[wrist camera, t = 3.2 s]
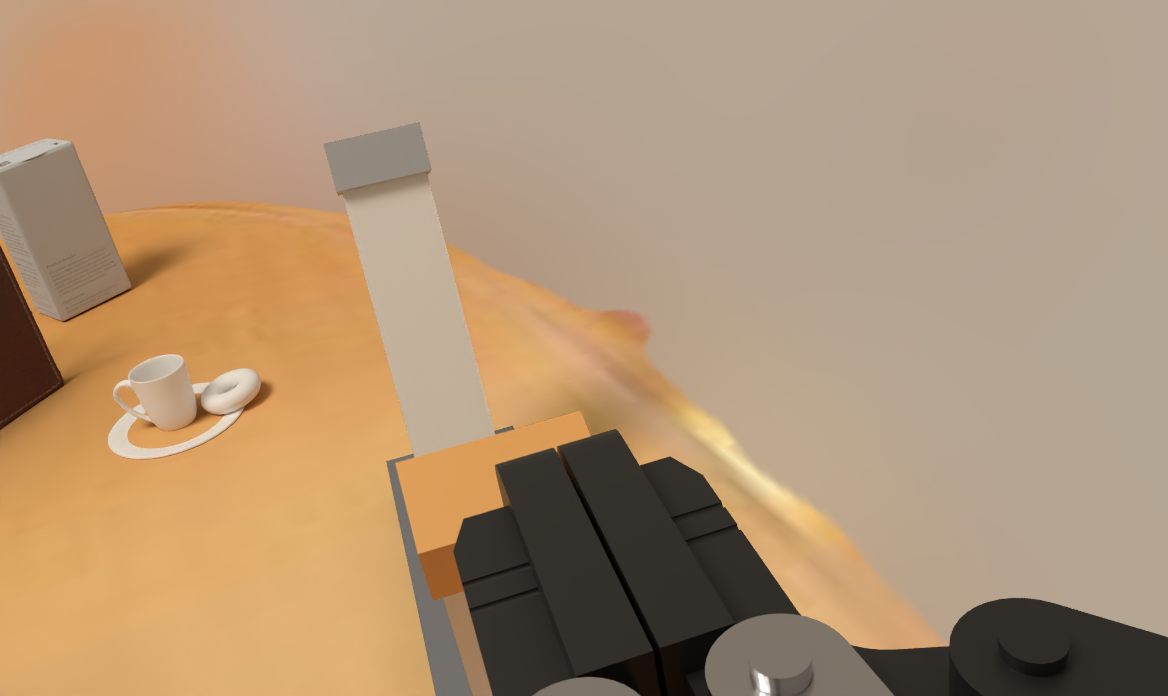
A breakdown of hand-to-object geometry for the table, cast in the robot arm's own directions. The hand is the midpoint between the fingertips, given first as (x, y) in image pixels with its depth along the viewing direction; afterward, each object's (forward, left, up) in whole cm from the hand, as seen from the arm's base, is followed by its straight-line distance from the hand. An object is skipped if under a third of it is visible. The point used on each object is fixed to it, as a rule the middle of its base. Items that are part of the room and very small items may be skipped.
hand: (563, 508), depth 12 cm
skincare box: (-23, +70, -22) cm, 77 cm away
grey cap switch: (0, +28, -19) cm, 34 cm away
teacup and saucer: (-13, +45, -23) cm, 52 cm away
